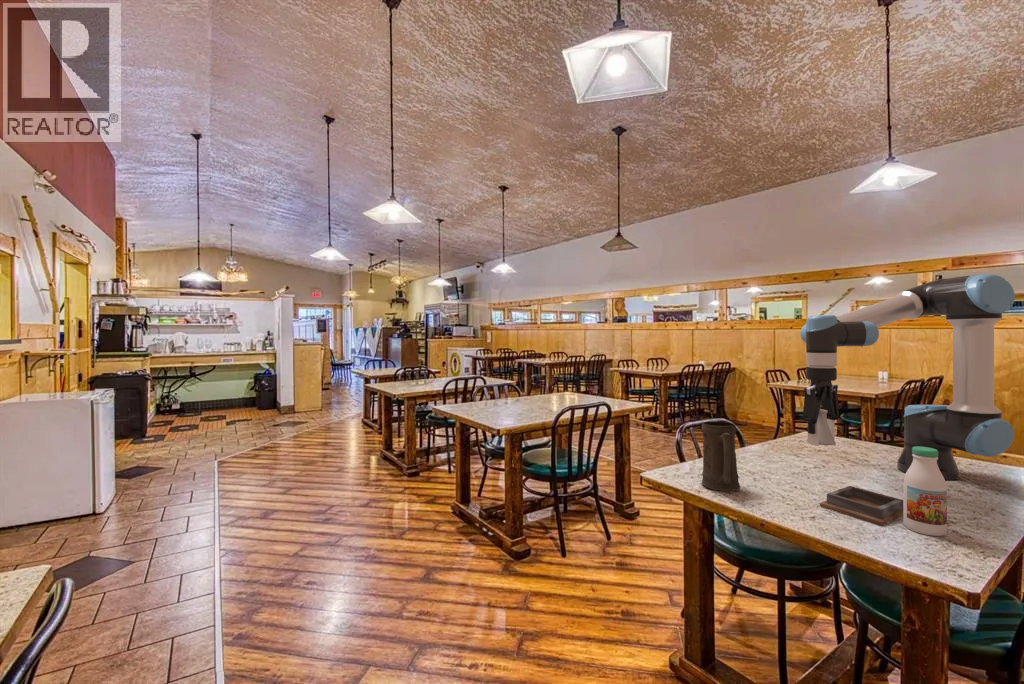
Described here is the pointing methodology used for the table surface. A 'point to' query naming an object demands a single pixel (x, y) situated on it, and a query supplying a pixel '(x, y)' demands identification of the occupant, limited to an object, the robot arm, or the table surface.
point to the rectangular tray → (864, 505)
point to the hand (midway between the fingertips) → (821, 442)
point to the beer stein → (719, 456)
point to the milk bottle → (925, 494)
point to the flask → (824, 429)
